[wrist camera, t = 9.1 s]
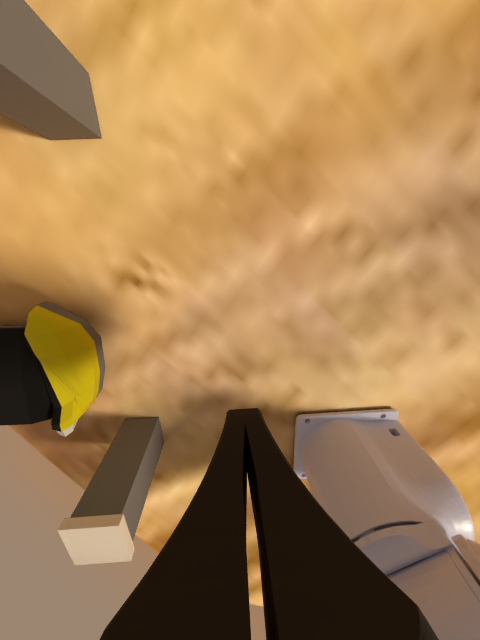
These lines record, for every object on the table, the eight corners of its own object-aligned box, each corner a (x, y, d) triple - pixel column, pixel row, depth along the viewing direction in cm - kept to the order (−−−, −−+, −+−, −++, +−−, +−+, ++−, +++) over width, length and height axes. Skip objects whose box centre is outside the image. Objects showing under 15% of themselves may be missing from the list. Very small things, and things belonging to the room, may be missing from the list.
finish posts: (90, 68, 13) (-134, -198, 5) (166, 443, 23) (131, 560, 15) (28, 70, 13) (-304, -198, 5) (130, 446, 22) (74, 565, 14)
